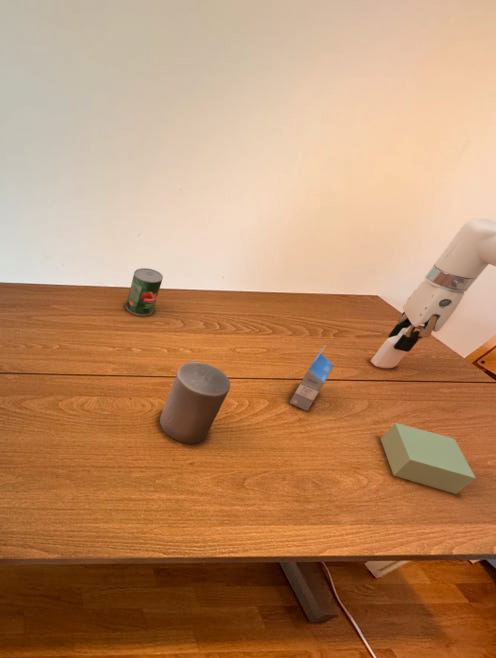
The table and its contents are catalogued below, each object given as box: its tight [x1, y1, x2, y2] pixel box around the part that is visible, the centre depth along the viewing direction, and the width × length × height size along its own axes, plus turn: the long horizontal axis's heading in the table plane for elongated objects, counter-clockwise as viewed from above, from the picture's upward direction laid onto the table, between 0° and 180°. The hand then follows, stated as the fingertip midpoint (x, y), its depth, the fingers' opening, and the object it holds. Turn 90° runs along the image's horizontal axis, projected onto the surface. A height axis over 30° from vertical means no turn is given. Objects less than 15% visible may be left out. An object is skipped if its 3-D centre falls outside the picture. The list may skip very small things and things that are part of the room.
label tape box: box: [289, 344, 334, 412], centre depth 93 cm, size 9×4×12 cm, turn 137°
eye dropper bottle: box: [370, 325, 415, 369], centre depth 104 cm, size 4×6×12 cm
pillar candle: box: [159, 361, 231, 445], centre depth 83 cm, size 10×10×15 cm
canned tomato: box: [125, 267, 164, 317], centre depth 120 cm, size 8×8×11 cm
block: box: [380, 422, 477, 495], centre depth 81 cm, size 10×10×5 cm
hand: (398, 343), depth 104 cm, fingers closed on eye dropper bottle, 4 cm apart
